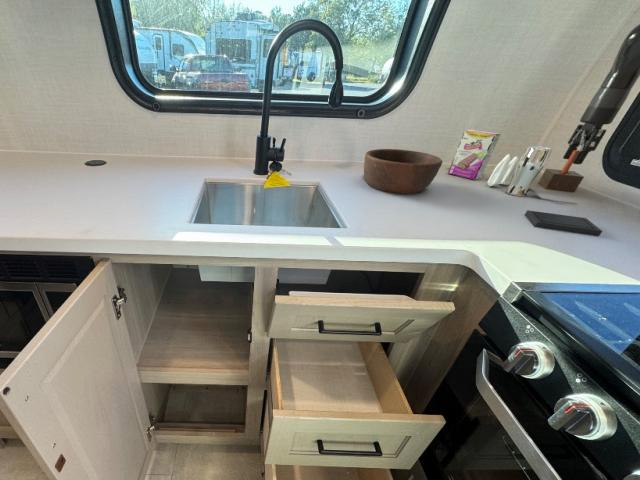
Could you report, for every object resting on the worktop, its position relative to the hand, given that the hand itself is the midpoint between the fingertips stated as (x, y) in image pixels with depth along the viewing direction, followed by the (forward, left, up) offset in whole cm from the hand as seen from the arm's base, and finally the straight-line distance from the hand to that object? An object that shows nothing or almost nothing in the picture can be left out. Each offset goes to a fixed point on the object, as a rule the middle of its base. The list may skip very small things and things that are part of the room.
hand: (571, 161), depth 107 cm
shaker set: (+17, -1, -11) cm, 20 cm away
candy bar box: (+27, -10, -11) cm, 31 cm away
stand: (0, 0, -11) cm, 11 cm away
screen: (+9, +37, -11) cm, 40 cm away
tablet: (+9, +37, -11) cm, 40 cm away
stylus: (0, 0, -11) cm, 11 cm away
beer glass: (+13, +8, -11) cm, 19 cm away
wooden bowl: (+53, +18, -11) cm, 57 cm away
